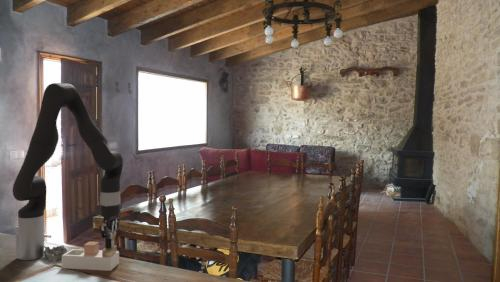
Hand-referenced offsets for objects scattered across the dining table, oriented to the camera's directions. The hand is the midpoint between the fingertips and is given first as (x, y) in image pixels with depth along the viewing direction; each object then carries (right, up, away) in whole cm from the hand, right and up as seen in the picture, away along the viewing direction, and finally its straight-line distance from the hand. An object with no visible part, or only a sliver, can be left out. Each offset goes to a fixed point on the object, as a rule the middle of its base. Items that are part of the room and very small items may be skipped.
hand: (110, 246), depth 148 cm
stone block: (-8, -3, +1) cm, 8 cm away
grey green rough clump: (-26, -7, +9) cm, 29 cm away
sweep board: (-8, -8, +1) cm, 11 cm away
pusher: (0, -3, 0) cm, 3 cm away
